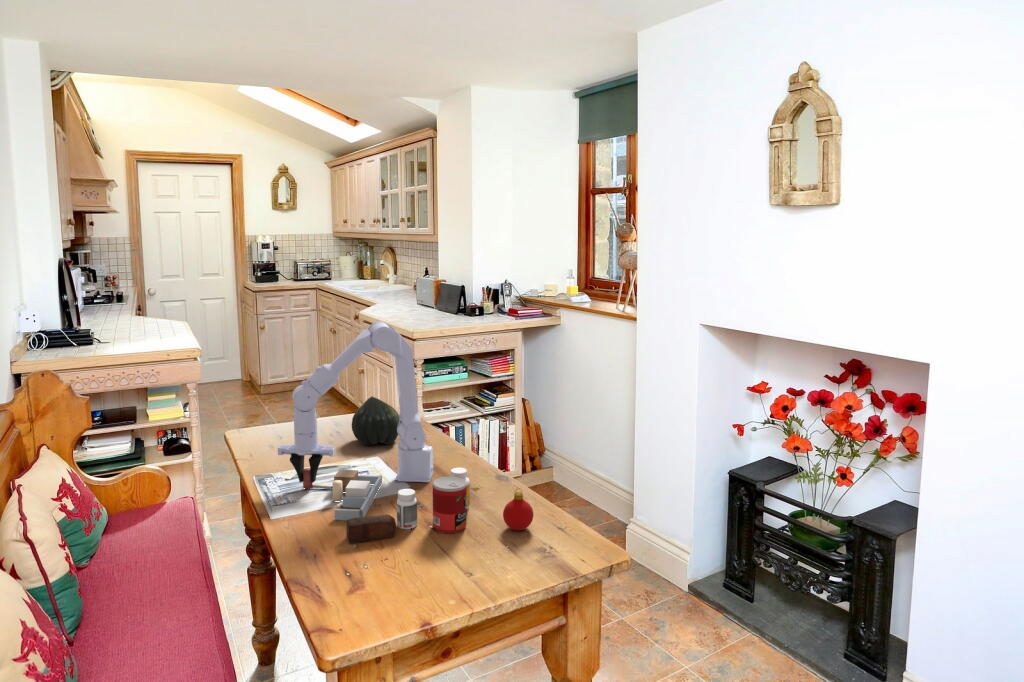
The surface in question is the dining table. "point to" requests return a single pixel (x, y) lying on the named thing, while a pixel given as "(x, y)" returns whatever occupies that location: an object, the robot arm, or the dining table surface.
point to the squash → (375, 422)
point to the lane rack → (359, 500)
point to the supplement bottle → (463, 474)
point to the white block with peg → (350, 489)
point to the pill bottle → (406, 509)
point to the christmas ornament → (518, 513)
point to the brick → (370, 528)
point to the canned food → (449, 504)
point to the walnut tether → (340, 475)
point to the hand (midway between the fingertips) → (307, 481)
